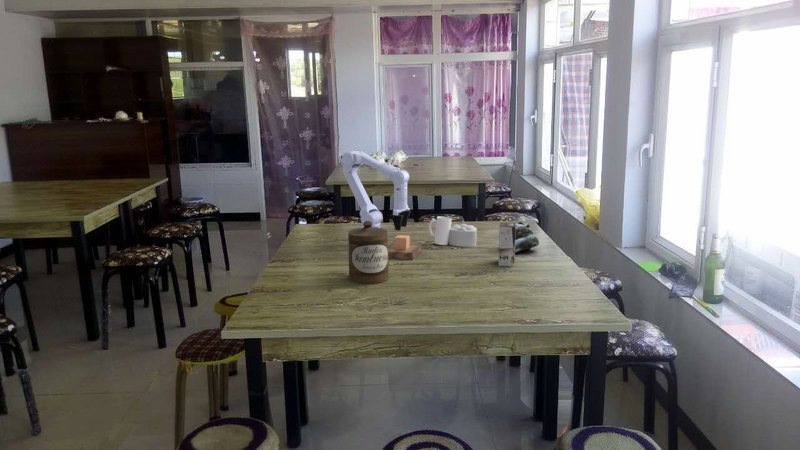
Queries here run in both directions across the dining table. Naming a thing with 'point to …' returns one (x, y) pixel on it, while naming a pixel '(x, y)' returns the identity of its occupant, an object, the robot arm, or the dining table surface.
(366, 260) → the wooden container
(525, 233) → the lucky cat figurine
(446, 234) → the mug
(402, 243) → the terracotta cube
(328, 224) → the dining table surface
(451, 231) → the lumpy-topped squat cylinder
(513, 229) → the coffee box
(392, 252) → the walnut base
